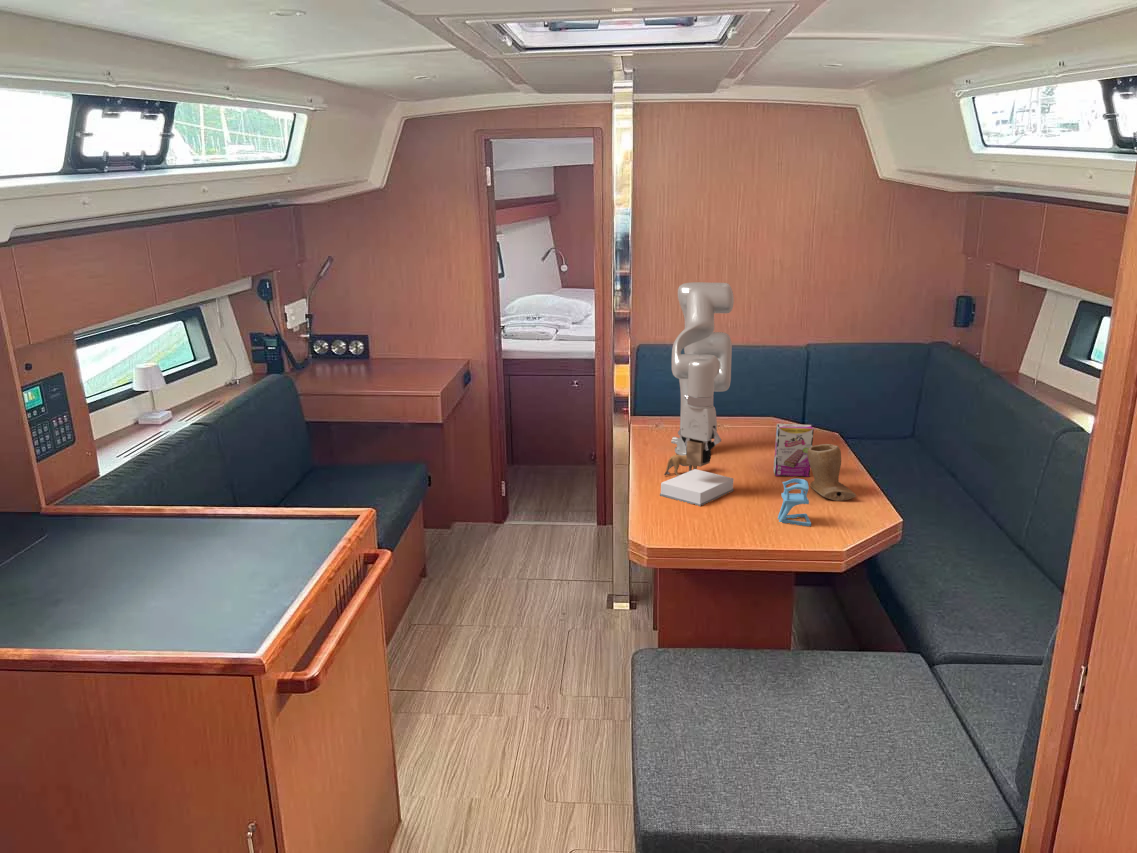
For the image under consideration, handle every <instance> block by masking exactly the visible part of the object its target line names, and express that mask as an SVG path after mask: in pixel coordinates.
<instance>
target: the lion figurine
mask: <svg viewBox="0 0 1137 853" xmlns="http://www.w3.org/2000/svg"><path fill="white" fill-rule="evenodd" d="M686 462H687V455H678V454H673V455H671V457H669V459H668V461H667V464H666V469H665V473H664V474H663V476H666V475H670V474H671V473H670V471H669V470H670V469H672V468H674V471H673V472H674V474H675V475H676V477H677V476H679V475H681V473H678V470H679V468H680V466H682V467H688V472H689V471H691V470H694V469H697V470H698V466H695V465H691V464H686Z"/></svg>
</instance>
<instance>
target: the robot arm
mask: <svg viewBox="0 0 1137 853" xmlns="http://www.w3.org/2000/svg"><path fill="white" fill-rule="evenodd" d="M733 292H734V291H733V289H732V286H731V284H729V283H727V282H702V281H701V282H699V281H698V282H684V283H682V284H680V285H679V286H678V288H677V300H678V302H679V306H680V309H681V312H682V314H683V319H684V329H683V330H682V331H681V332H679V334H678V335H677V336H676V338H675V340H674V341H673V344H672V349H671V372H672V376H673V377H675V378H676V379H678V382H679V388H680V389H679V390H680V391H679V392H680V418H679V430H678V431H677V434H678V436H679V437H678V436H672V438H671V440H670V443H671V444H674V445H676V447H675V448H674V452H675V454H676V455H687V441H689V440H691V439H694V440H699V441H703V443H704V448H705V450H703V463H707V462H709V461H710V462H711V459H712V449H713V448H714V447H715V446H717V445H718V444H719V443H721V442H722V439H721V437H720V435H719V433H718V432H717V431H718V430H717V429H718V428H717V427H718V422H717V411H716V408H715V406H714V397H715V396H714V392H716V393H717V392H718V393H719V392H726V391H728V390H729V388H730V386H731V381H732V353H733V352H732V351H733V349H732V348H733V347H732V338H731V336H730V335H729V334H728V333H726V332H723V331H719V332H718V331H715V314H730V313H731V312H732V311H733V308H734V303H735V299H734V293H733ZM682 350H683V351H684V352H683V353H682Z"/></svg>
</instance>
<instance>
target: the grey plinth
mask: <svg viewBox="0 0 1137 853" xmlns="http://www.w3.org/2000/svg"><path fill="white" fill-rule="evenodd" d="M733 491H734V492H735V489H734V477H730V476H725V475H721V474H718V473H717V474H716V473H714V472H709V471H705V470H701V469H698V468H697V469H694V470H693V469H692V470H691V471H689V470H688V471H686V472H684V473H682V474H680V475H679V476H677V475H676V476H675V477H673V478H670V479H667V480H664V481H662V482H661V483H660V493H659V496H660V497H664V498H667V499H671V500H674V499H675V501H678V500H679V502H682V501H683V502H682V503H685V502H687V503H686V504H689V503H690V505H693V504H695V505H694V506H697V505H698V506H697V507H702V506H704V504H705V505H707V504H708V502H709V503H710V501H711V502H713V501H715V500H717V499H720V498H721V496H722V497H723V495H724V496H725V494H726V495H728V494H730V493H733ZM729 492H730V493H729ZM727 493H728V494H727ZM712 500H713V501H712ZM706 503H707V504H706ZM701 505H702V506H701Z"/></svg>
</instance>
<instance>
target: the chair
mask: <svg viewBox="0 0 1137 853" xmlns="http://www.w3.org/2000/svg"><path fill="white" fill-rule="evenodd" d="M781 483H782V485H783V492H781V495H780V496H781V498H782V504H781V507H780V510H779V513H778V514H777V520H778V523H779V522H782V523H781V524H787V523H790V524H789V525H794V524H796V525H795V526H801V525H802V527H803V526H804V527H809V526H810V527H812V522H811V520H810V518H809V516H808V514H807V513H793V514H789V513H790V512H791V510H792V508H794V507H796V506H799V505H809V504H810V500H809V499H808V496H807V495H808V492H809V488H810V487H809V486H810V485H809V482H808V480H805V479H802V478H790V479H789V480H786V481H782V482H781ZM793 483H795V484H793ZM789 484H792V485H791V486H789V487H787V485H789ZM793 490H800V493H799V492H797V493H793V492H792V493H790V491H793ZM797 517H801V518H805V521H800V520H793V519H798V518H797ZM787 518H792V519H787Z"/></svg>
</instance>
